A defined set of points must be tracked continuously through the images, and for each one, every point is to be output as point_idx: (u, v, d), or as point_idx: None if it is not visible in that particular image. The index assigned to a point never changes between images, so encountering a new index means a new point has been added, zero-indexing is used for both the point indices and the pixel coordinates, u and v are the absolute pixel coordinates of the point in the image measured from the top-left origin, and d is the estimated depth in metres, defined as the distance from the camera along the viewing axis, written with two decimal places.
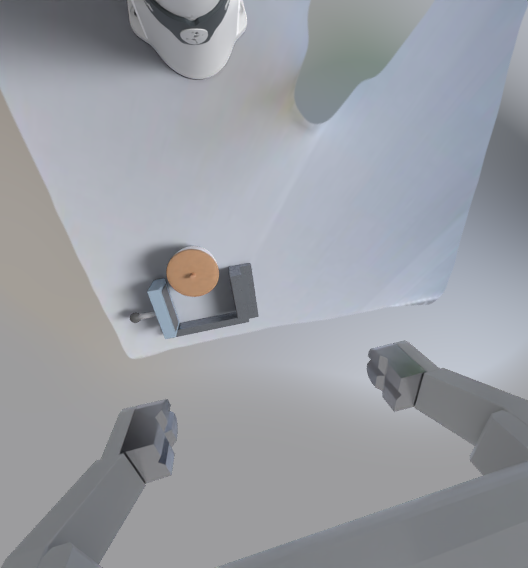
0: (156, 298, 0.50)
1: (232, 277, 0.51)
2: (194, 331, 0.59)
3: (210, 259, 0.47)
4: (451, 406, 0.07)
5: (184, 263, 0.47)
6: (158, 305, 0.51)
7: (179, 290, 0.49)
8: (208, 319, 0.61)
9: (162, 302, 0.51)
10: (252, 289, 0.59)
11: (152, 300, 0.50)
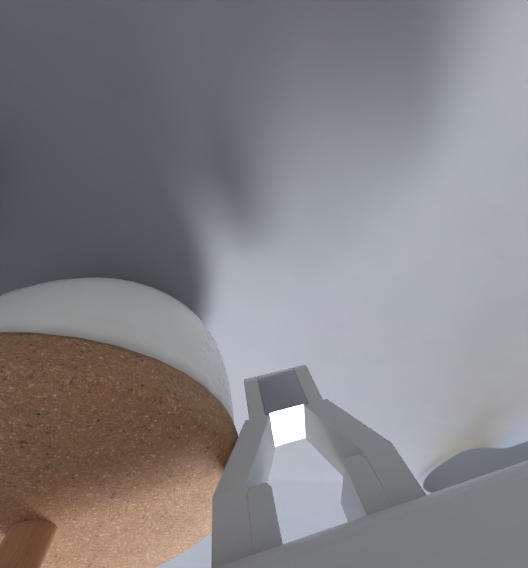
0: None
1: None
2: None
3: (184, 549, 0.08)
4: (328, 442, 0.07)
5: (136, 478, 0.06)
6: None
7: None
8: None
9: None
10: None
11: None
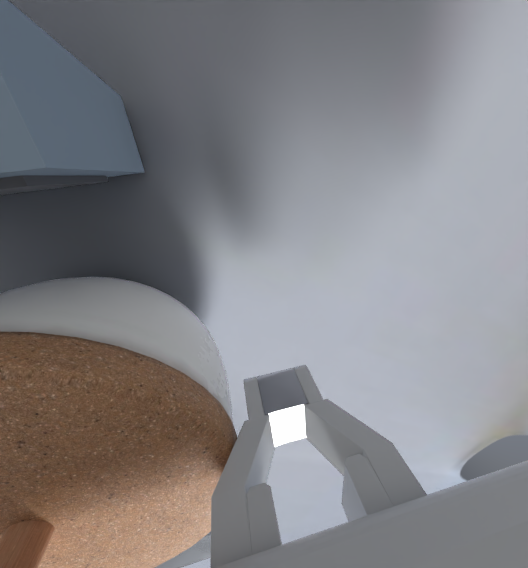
0: None
1: None
2: None
3: (182, 550, 0.08)
4: (328, 442, 0.07)
5: (134, 478, 0.06)
6: None
7: None
8: None
9: None
10: None
11: None
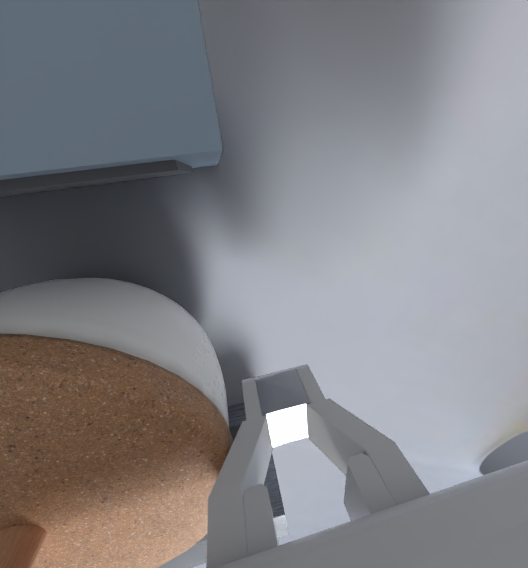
0: (78, 76, 0.03)
1: (280, 520, 0.11)
2: None
3: (177, 554, 0.08)
4: (331, 441, 0.07)
5: (127, 482, 0.06)
6: None
7: None
8: None
9: (23, 154, 0.04)
10: None
11: None
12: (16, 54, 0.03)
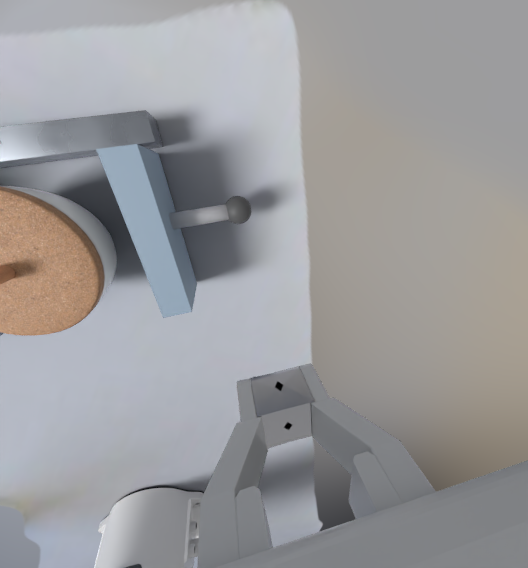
0: (169, 295, 0.19)
1: None
2: (52, 129, 0.16)
3: None
4: (335, 440, 0.07)
5: (45, 305, 0.16)
6: (164, 276, 0.19)
7: (44, 220, 0.14)
8: (26, 162, 0.18)
9: (153, 285, 0.19)
10: None
11: (179, 290, 0.19)
12: (170, 287, 0.19)
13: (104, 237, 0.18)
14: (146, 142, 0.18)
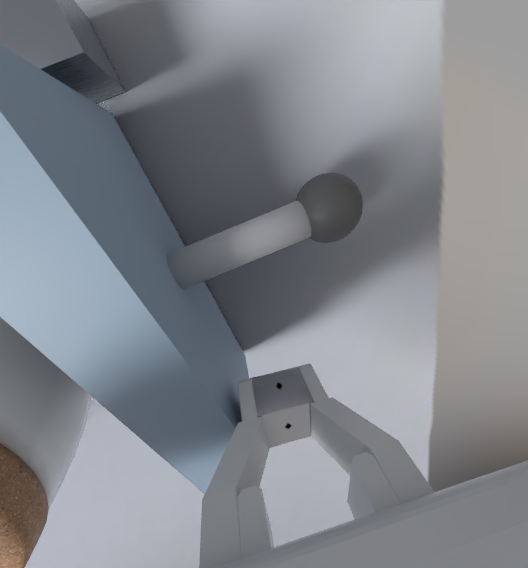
0: (209, 457, 0.08)
1: None
2: None
3: None
4: (334, 440, 0.07)
5: None
6: (187, 428, 0.07)
7: None
8: None
9: (165, 451, 0.07)
10: None
11: None
12: (208, 444, 0.08)
13: (23, 353, 0.07)
14: (59, 61, 0.06)
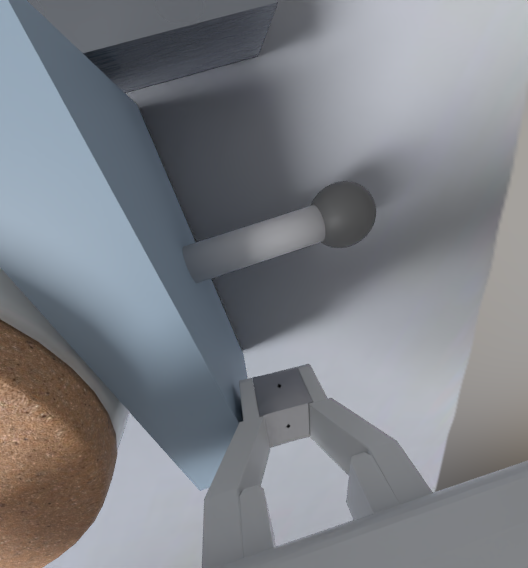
0: (210, 453, 0.08)
1: None
2: None
3: None
4: (333, 441, 0.07)
5: None
6: (192, 421, 0.07)
7: None
8: None
9: (168, 443, 0.07)
10: None
11: None
12: (210, 439, 0.07)
13: None
14: (253, 8, 0.06)
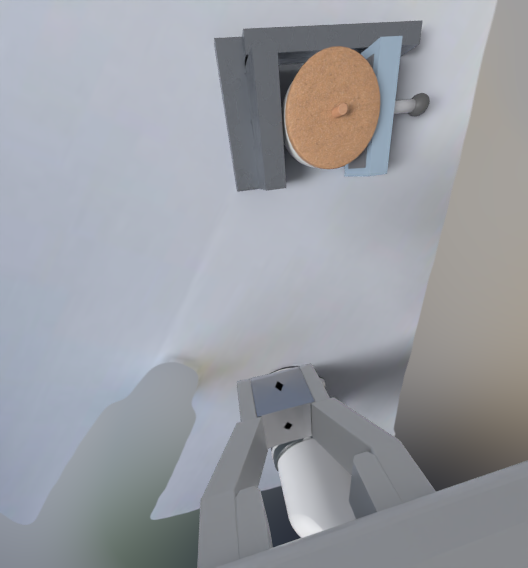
0: (379, 157, 0.28)
1: (282, 185, 0.28)
2: (369, 29, 0.26)
3: (298, 143, 0.25)
4: (335, 440, 0.07)
5: (342, 143, 0.26)
6: (381, 140, 0.28)
7: (371, 77, 0.24)
8: None
9: (373, 146, 0.28)
10: (233, 132, 0.28)
11: (386, 153, 0.28)
12: (381, 150, 0.28)
13: None
14: (413, 44, 0.27)
